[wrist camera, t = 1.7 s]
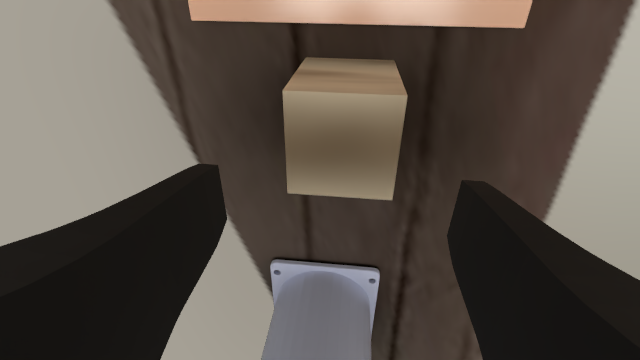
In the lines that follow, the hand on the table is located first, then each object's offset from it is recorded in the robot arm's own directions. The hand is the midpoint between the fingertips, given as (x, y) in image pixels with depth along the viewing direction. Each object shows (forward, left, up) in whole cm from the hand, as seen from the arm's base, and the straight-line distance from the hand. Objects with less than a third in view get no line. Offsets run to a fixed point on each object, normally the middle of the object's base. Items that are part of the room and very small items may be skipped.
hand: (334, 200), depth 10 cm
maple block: (0, 0, -10) cm, 10 cm away
